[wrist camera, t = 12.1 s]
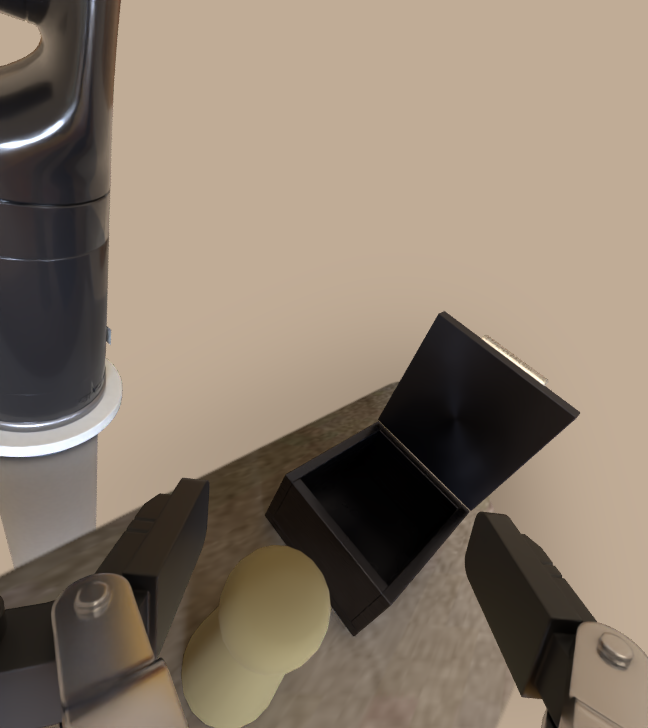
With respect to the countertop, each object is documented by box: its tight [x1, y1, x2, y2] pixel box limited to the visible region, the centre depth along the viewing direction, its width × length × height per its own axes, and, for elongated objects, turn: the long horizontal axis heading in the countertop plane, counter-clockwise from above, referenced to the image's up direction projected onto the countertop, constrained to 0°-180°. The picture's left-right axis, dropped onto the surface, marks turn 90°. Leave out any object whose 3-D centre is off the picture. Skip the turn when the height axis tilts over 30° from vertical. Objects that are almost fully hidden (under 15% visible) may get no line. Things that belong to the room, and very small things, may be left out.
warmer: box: [265, 421, 469, 636], centre depth 32 cm, size 12×11×6 cm
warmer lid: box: [378, 311, 580, 511], centre depth 31 cm, size 12×11×5 cm
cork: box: [181, 545, 331, 728], centre depth 21 cm, size 6×6×11 cm
